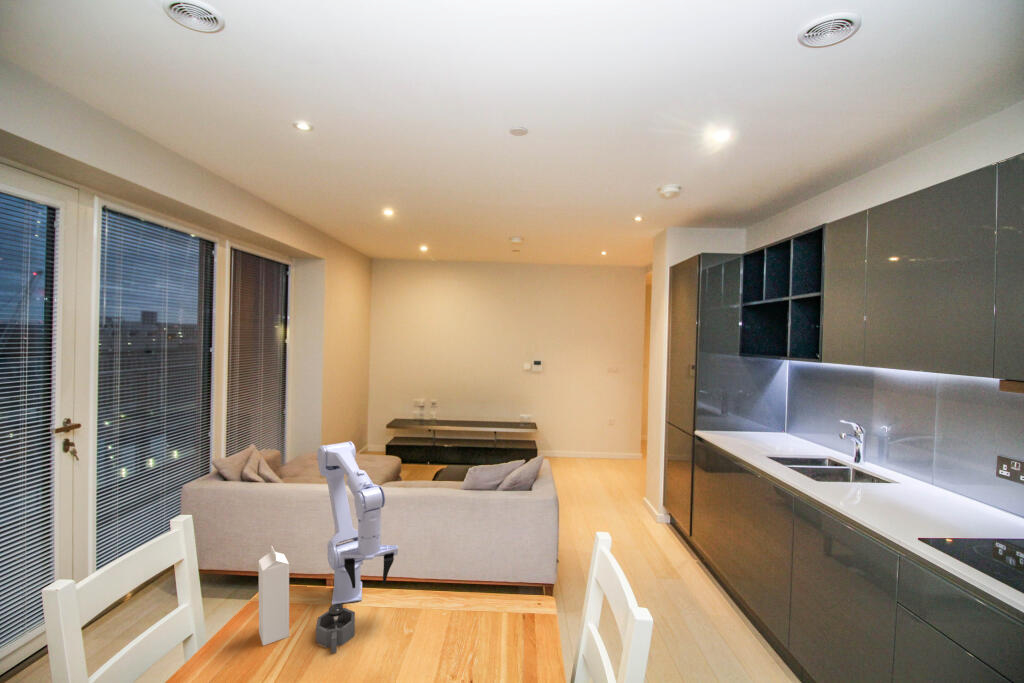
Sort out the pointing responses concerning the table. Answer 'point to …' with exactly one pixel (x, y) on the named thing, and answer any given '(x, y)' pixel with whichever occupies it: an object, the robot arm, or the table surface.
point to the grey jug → (335, 635)
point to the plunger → (335, 616)
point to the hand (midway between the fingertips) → (369, 584)
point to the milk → (273, 597)
